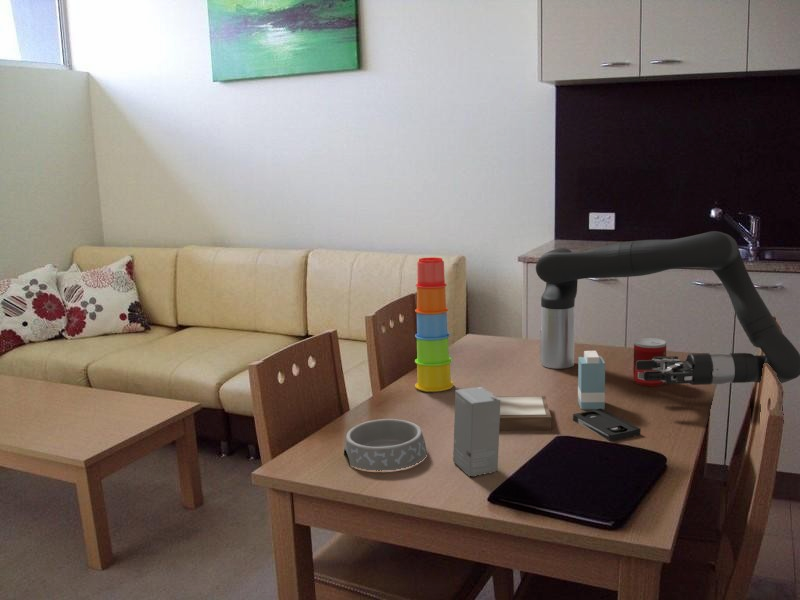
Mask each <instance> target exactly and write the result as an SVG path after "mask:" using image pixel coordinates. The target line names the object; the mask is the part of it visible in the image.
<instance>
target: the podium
mask: <svg viewBox="0 0 800 600" xmlns="http://www.w3.org/2000/svg"><path fill="white" fill-rule="evenodd" d="M494 396H495V397H497V398H498V399H500V424H499V431H518V430H519V431H529V430H531V431H533V430H534V431H536V430H537V431H545V430H546V431H549V430H550V431H551V430H552V415H551V412H550V411H551V410H550V407H549V404H548V401H547V397H546V395H521V396H520V395H516V396H514V395H513V396H512V395H509V396H507V395H506V396H501V395H500V396H498V395H494Z"/></svg>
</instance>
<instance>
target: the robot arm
mask: <svg viewBox="0 0 800 600" xmlns="http://www.w3.org/2000/svg"><path fill="white" fill-rule="evenodd" d="M684 268H685V269H686V268H687V269H689V268H690V269H696V268H698V269H699V268H700V269H709V270H710V269H711V270H712V271H713V273H714V274H715V275H716V277H717V278H718V279H719V281H720V282H721V283H722V285H723V287H724V289H725V291H726V292H727V294H728V297H729V299H730V302H731V305H732V307H733V310H734V313H735V315H736V318H737V320H738V322H739V324H740V326H741V327H742V329H743V331H744V333H745V335H746V336H747V338H748V341H749V342H750V343H751V344H752V345H753V346H754V347H755V348H759V349H760V350H761V352H762V353H763V355H760V354H759V355H757V354H756V355H754V354H752V353H751V352H750V353H748V352H730V353H729V352H728V353H726V352H693V353H692V352H690V353H689V354H687V357H686V359H685V360H680V359H679V356H676V355H675V356H673V355H671V356H670V355H669V356H667V355H666V356H664V357H656V356H655V357H653V359H652V360H638V361H636V368H637V369H638V370H652V369H653V370H659V371H644V380H645V381H658V380H661V381H662V382H664V383H665V384H666V385H679V384H681V385H683V384H690V385H691V386H696V385H697V386H699V385H700V386H701V385H702V386H703V385H705V386H706V385H707V386H708V385H709V386H710V385H724V384H725V385H726V384H738V383H739V384H742V383H743V384H744V383H757V384H758V383H759V384H761V383H760V381H761V376H762V368H763V364H764V363H768V364H769V365H770V366H771V367H772V368H773V370H774V371H775V372H776V373H777V377H778V379H779V381H780V382H781V383H780V384H784V383H787V382H789V381H792V380H794V379H797V378H798V377H800V352H799V351H798V350H797V348H796V347H795V346H794V344H793V343H792V342H791V340H789V338H788V337H786V335H785V334H784V333H783V332H782V331H781V330H780V328H779V326H778V324H777V321H776V320H775V319H774V316H773V315H772V313H771V312H770V310H769V308H768V306H767V305H766V303H765V301H764V300H763V299H762V296H761V295H760V294H759V293H760V292H758V290H757V288H756V286H755V285H754V283H753V281H752V279H751V276H750V274H749V272H748V269H747V268H746V264H745V262H744V260H743V257H742V254H741V250H740V248H739V245H738V243H737V241H736V239H734V237H733V236H731V235H729V234H728V233H724V232H722V231H714V230H712V231H708V232H703V233H699V234H695V235H690V236H685V237H680V238H679V237H678V238H674V239H642V240H631V241H624V242H617V243H616V242H615V243H611V244H607V245H602V246H599V247H595V248H592V249H589V250H584V251H572V250H570V249H568V248H566V247H558V248H555V249H552V250H549V251H547V252H545V253H544V254H542V255H541V256H540V257H539V259H538V260H537V262H536V265H535V271H536V272H535V273H536V275H537V277H538V278H539V279H540V280H541V281H543V282H545V283H546V285H545V288H544V290H543V294H542V295H541V298H540V307H541V309H540V311H541V313H540V315H541V316H540V318H541V320H540V322H541V323H540V325H541V327H540V328H541V330H540V334H539V337H540V341H539V343H540V351H539V352H540V353H539V354H540V356H539V357H540V363H541V365H542V367H546V368H548V369H553V370H554V369H557V370H558V369H561V370H562V369H568V368H571V367H574V366H575V303H576V302H575V301H576V297H577V295H578V282H579V281H578V280H584V279H611V278H612V279H613V278H614V279H615V278H617V279H618V278H630V277H631V278H632V277H642V276H650V275H653V274H654V275H655V274H657V273H660V272H661V273H662V272H665V271H668V270H673V269H684ZM658 363H660V364H658Z"/></svg>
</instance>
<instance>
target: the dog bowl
mask: <svg viewBox="0 0 800 600" xmlns="http://www.w3.org/2000/svg"><path fill="white" fill-rule="evenodd" d="M345 451H346V452H345ZM344 453H345V454H346V455H347V456H348V461H349V466H350V465H351V466H354V467H357V468H361V469H366V470H376V471H377V470H378V471H380V470H381V471H382V470H396V469H401V468H406V467H409V466H412V465H415V464H416V463H419V462H420V461H422V460H423V459H424V458H425V457H426V455H427V456H428V450H427V445H426V442H425V437H424V434H423V431H422V428H421V427H420V426H419V425H417V424H416V423H414V422H411V421H408V420H404V419H397V418H396V419H395V418H383V419H382V418H381V419H372V420H369V421H364V422H362V423H359V424H357V425H355V426H354V427H351V428H350V430H349V431H347V433H346V436H345V444H344V448H343V454H344Z"/></svg>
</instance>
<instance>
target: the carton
mask: <svg viewBox="0 0 800 600" xmlns="http://www.w3.org/2000/svg"><path fill="white" fill-rule="evenodd" d="M577 361H578V364H577V365H578V366H577V367H578V369H577V374H578V375H577V378H578V379H577V402H578V403H577V404H579V407H580V409H581V410H596V409H603V410H605V408H606V407H605V406H606V405H605V404H606V403H605V402H606V392H605V389H606V362H605V360H604V358H603V357H602V356H600V355H599V354H598V352H597V350H583V356H578V359H577Z"/></svg>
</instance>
